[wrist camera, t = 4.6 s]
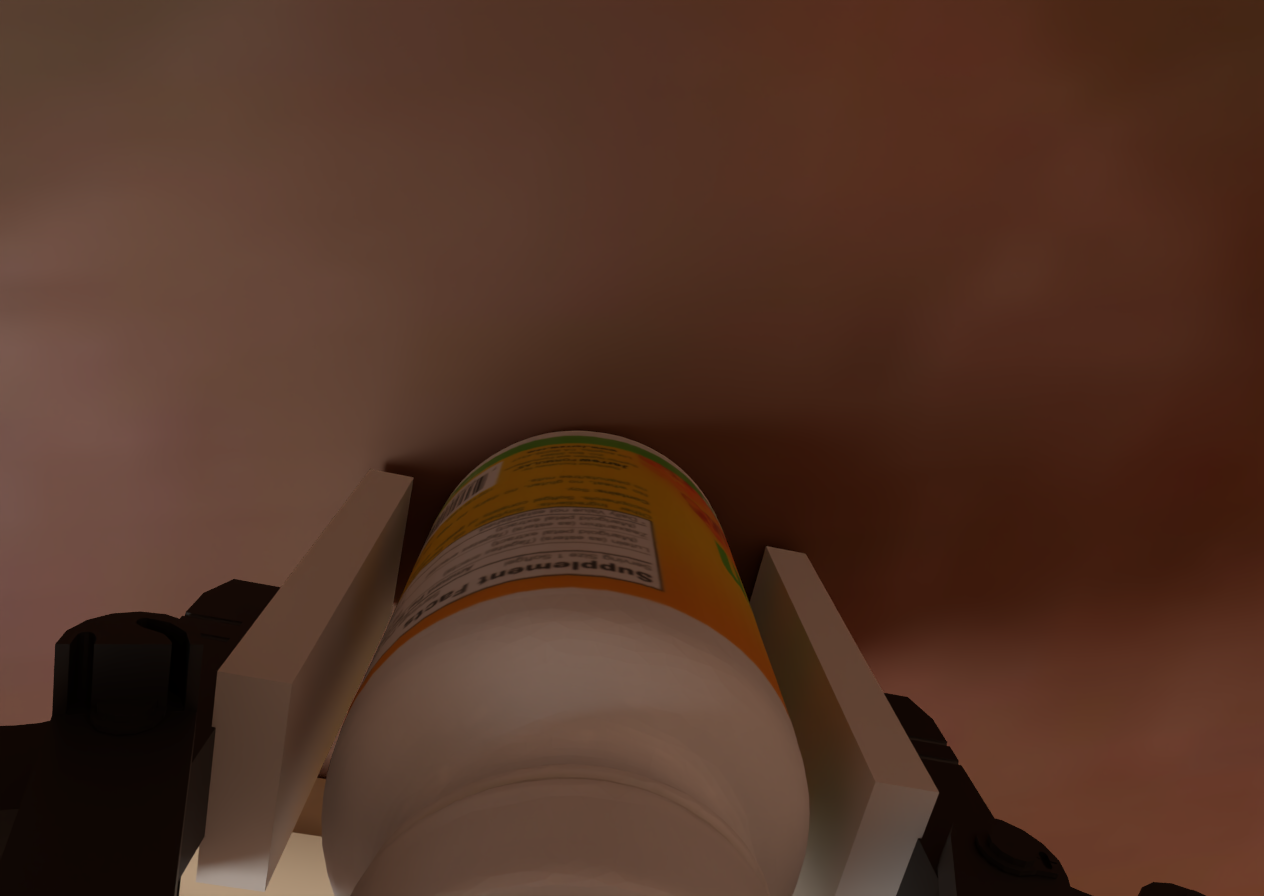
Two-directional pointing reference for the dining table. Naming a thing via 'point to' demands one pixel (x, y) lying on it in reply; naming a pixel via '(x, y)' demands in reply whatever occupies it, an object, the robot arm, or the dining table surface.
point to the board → (282, 861)
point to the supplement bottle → (569, 698)
